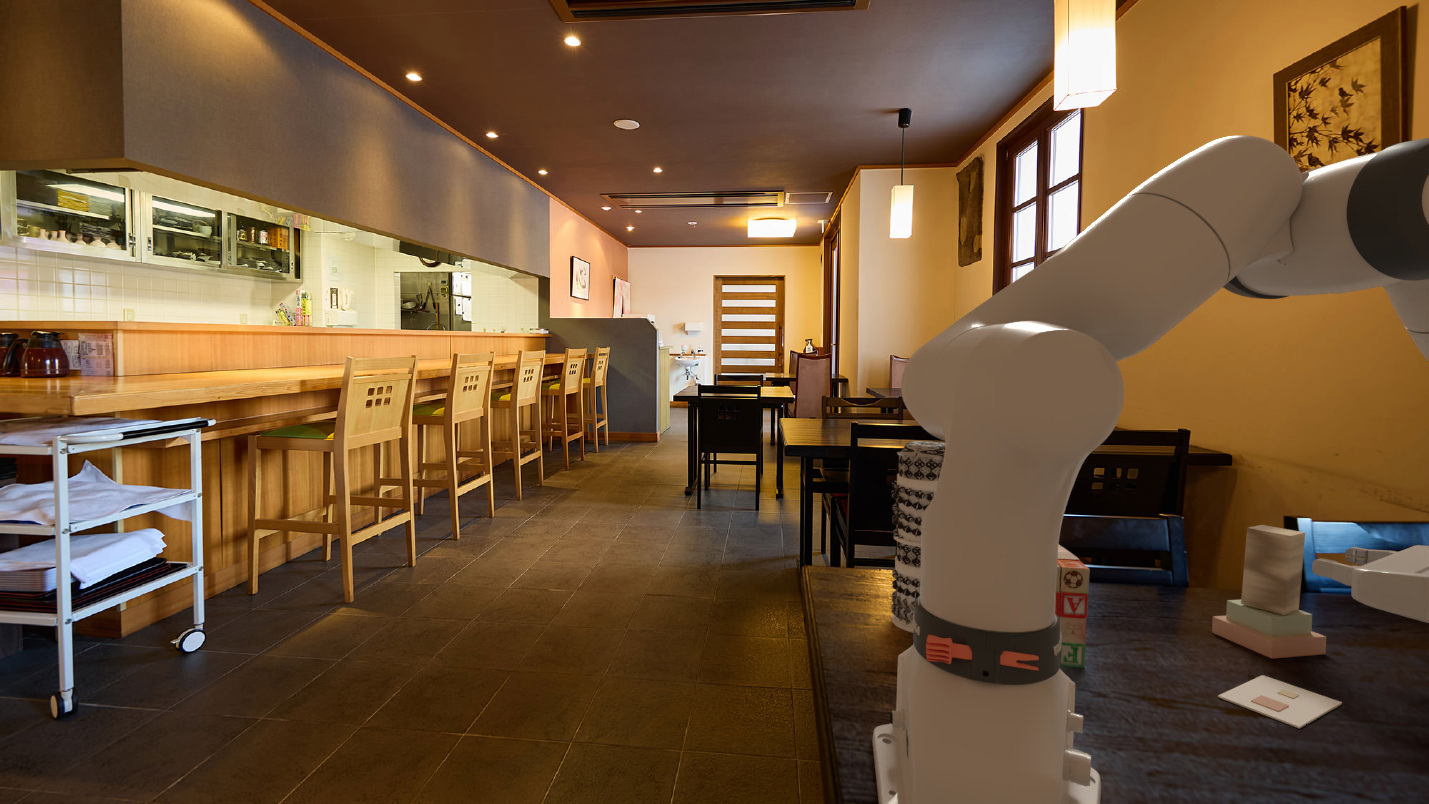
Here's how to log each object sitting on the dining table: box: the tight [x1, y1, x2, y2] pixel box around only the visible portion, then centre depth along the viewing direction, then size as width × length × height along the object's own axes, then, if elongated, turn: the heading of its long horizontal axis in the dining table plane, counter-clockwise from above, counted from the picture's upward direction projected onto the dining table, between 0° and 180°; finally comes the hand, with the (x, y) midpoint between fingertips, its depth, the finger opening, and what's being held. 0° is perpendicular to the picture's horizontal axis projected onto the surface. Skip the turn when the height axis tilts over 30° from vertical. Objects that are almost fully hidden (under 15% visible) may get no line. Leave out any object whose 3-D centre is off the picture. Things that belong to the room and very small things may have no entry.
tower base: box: [1211, 599, 1327, 660], centre depth 86 cm, size 8×8×5 cm
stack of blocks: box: [1055, 544, 1091, 669], centre depth 89 cm, size 21×6×12 cm, turn 170°
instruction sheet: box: [1217, 674, 1343, 730], centre depth 71 cm, size 10×7×1 cm
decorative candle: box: [890, 440, 945, 634], centre depth 91 cm, size 9×9×25 cm
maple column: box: [1240, 524, 1306, 615], centre depth 85 cm, size 4×4×10 cm
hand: (1331, 559), depth 80 cm, fingers open, 8 cm apart
